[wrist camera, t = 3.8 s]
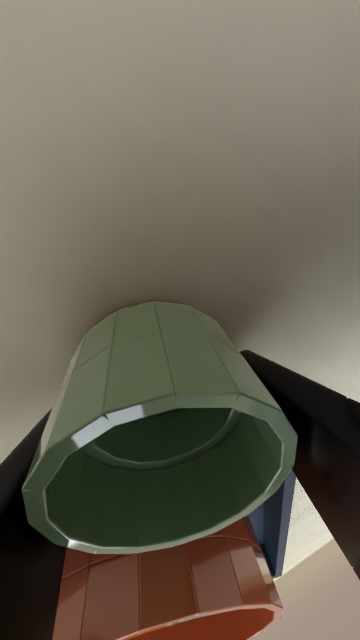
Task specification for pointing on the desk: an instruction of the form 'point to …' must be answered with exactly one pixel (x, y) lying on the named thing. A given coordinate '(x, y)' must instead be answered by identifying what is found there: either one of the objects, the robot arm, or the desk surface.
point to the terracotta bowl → (170, 591)
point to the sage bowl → (155, 436)
